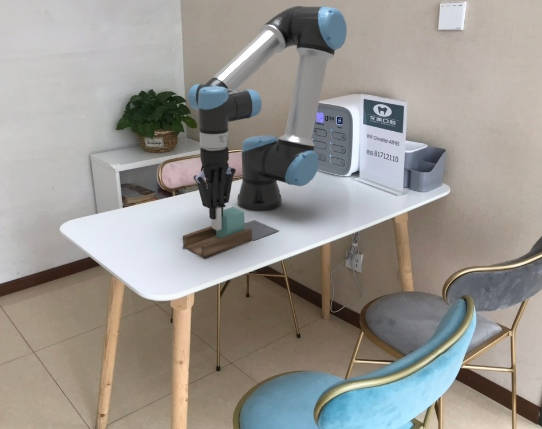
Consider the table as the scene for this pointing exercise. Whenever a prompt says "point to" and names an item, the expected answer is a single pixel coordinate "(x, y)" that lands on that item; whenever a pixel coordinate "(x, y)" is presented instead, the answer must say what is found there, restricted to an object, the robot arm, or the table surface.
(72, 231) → the table surface
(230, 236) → the chute
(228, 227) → the block
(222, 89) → the robot arm
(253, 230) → the mat
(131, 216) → the table surface
